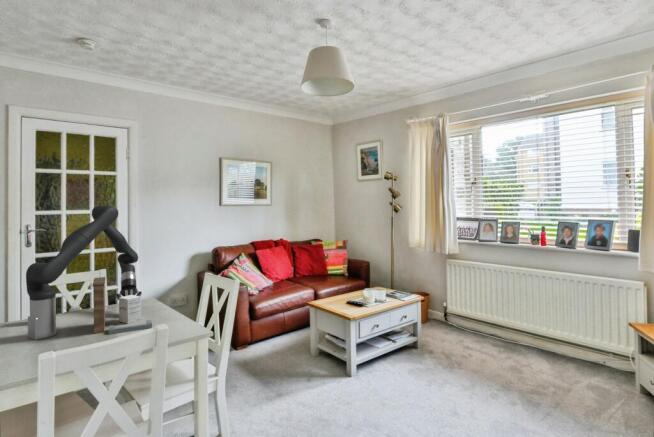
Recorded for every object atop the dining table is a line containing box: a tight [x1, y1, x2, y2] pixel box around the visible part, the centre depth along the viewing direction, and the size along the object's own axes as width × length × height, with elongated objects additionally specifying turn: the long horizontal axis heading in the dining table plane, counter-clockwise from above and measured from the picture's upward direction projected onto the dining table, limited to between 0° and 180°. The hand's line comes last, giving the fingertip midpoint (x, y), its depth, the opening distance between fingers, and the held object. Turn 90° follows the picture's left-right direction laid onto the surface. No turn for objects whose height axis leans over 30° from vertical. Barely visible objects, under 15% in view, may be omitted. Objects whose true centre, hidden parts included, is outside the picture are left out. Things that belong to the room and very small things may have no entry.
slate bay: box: [108, 319, 153, 335], centre depth 172 cm, size 7×18×2 cm, turn 121°
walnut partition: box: [91, 276, 106, 335], centre depth 172 cm, size 17×5×23 cm, turn 30°
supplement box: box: [118, 294, 142, 325], centre depth 183 cm, size 7×7×13 cm
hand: (129, 308), depth 190 cm, fingers closed
